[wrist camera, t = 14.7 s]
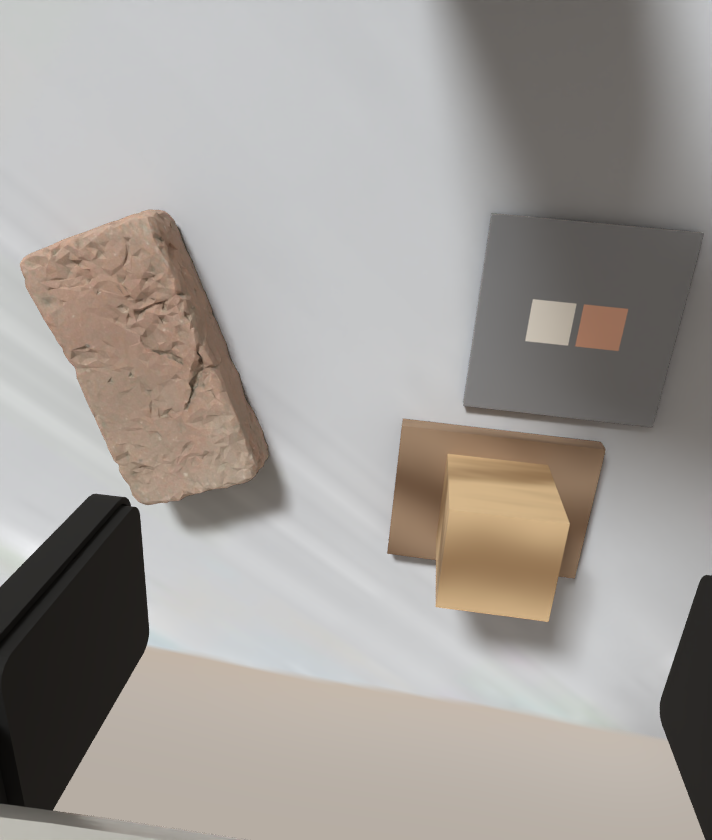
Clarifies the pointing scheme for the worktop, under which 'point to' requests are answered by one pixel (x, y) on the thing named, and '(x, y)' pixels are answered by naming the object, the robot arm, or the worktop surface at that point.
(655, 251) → the pad
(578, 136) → the worktop surface
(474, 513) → the oak block
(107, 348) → the brick
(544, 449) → the walnut board
